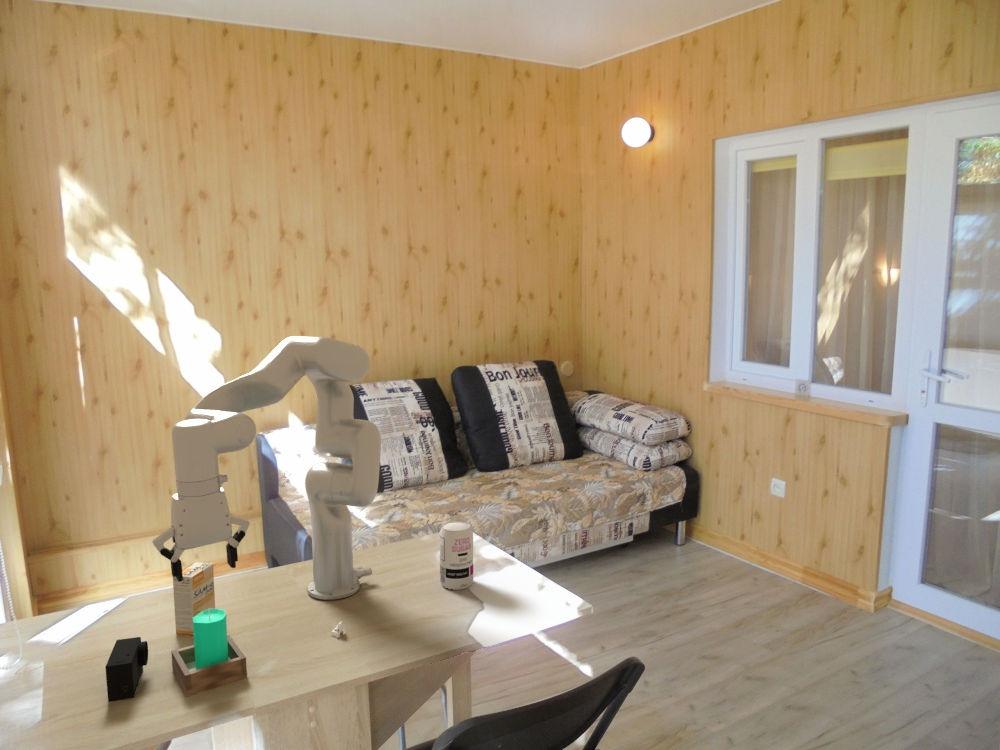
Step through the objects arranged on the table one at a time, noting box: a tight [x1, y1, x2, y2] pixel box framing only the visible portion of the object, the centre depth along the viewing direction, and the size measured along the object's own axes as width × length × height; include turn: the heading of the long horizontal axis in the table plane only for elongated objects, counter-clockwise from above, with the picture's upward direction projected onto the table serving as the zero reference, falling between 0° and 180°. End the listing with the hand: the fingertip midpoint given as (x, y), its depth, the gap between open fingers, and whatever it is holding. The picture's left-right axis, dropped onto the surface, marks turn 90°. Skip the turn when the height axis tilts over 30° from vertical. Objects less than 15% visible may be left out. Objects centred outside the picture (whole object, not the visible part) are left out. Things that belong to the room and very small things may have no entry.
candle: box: [193, 608, 229, 670], centre depth 143 cm, size 6×6×12 cm
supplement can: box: [439, 520, 474, 591], centre depth 183 cm, size 8×8×15 cm
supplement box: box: [172, 561, 216, 636], centre depth 162 cm, size 8×5×13 cm, turn 168°
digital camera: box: [105, 636, 149, 703], centre depth 139 cm, size 10×5×7 cm, turn 17°
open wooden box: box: [171, 634, 248, 697], centre depth 143 cm, size 11×11×4 cm
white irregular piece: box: [329, 620, 346, 639], centre depth 159 cm, size 3×3×3 cm
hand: (205, 572), depth 141 cm, fingers open, 9 cm apart
